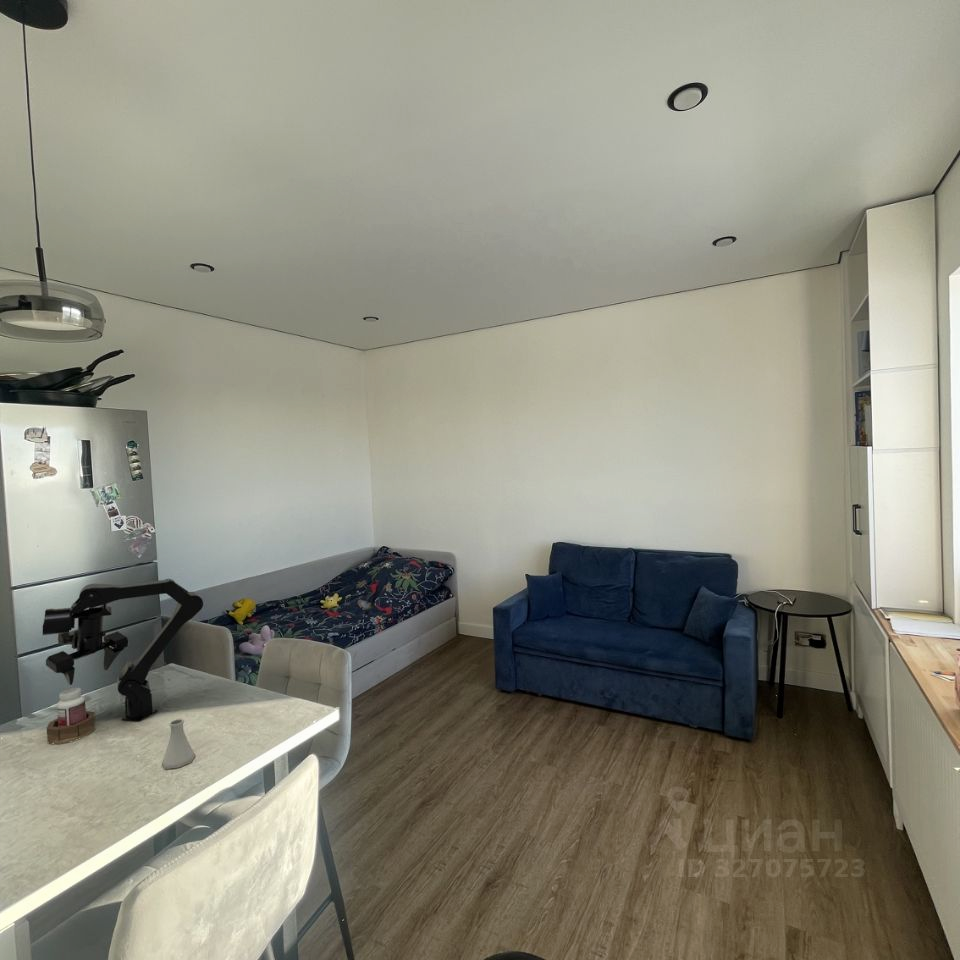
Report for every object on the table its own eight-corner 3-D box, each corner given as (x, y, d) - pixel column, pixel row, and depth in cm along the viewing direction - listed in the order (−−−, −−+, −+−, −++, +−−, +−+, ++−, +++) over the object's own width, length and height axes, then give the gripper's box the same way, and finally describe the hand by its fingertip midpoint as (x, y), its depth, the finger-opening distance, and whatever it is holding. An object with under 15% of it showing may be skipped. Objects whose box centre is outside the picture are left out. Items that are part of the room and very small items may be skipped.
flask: (160, 773, 122) (157, 732, 121) (162, 758, 128) (160, 719, 128) (195, 764, 125) (192, 723, 125) (195, 750, 131) (193, 711, 131)
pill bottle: (89, 722, 146) (87, 684, 146) (83, 732, 141) (81, 693, 140) (62, 728, 143) (59, 689, 143) (55, 738, 138) (52, 698, 137)
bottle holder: (104, 726, 146) (104, 712, 146) (67, 746, 136) (67, 731, 136) (76, 723, 148) (75, 709, 148) (37, 742, 138) (36, 728, 138)
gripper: (108, 607, 156) (106, 652, 160) (35, 630, 140) (34, 679, 143) (131, 621, 152) (128, 666, 156) (58, 646, 135) (56, 697, 139)
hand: (88, 676), depth 148 cm, fingers open, 9 cm apart
